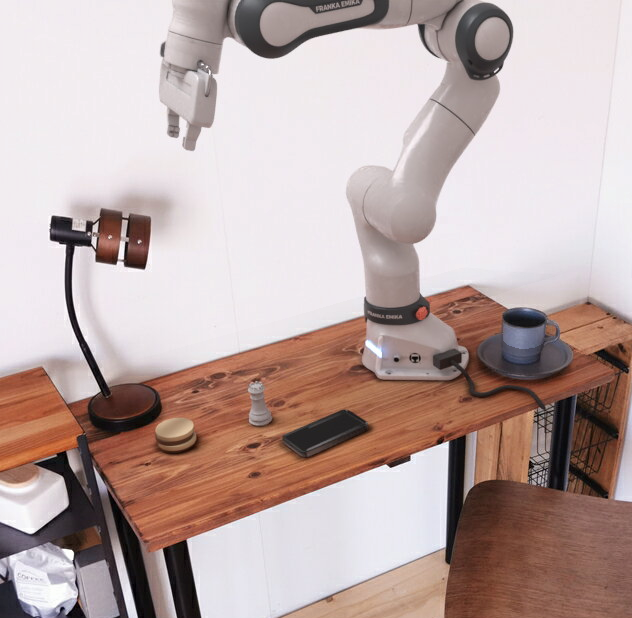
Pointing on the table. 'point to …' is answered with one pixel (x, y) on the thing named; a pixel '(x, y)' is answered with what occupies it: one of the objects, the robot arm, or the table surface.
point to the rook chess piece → (258, 405)
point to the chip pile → (175, 435)
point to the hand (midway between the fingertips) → (180, 143)
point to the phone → (325, 433)
